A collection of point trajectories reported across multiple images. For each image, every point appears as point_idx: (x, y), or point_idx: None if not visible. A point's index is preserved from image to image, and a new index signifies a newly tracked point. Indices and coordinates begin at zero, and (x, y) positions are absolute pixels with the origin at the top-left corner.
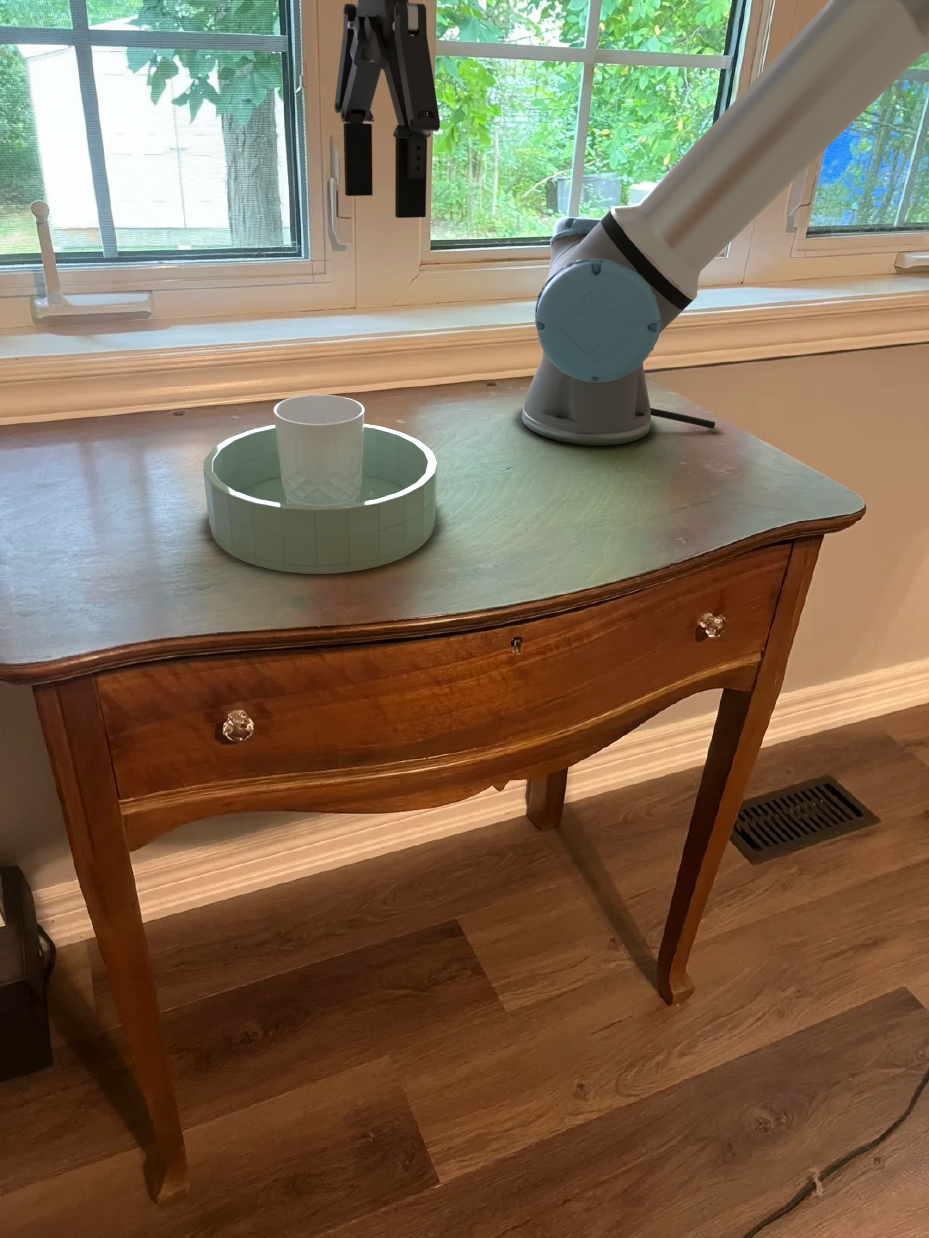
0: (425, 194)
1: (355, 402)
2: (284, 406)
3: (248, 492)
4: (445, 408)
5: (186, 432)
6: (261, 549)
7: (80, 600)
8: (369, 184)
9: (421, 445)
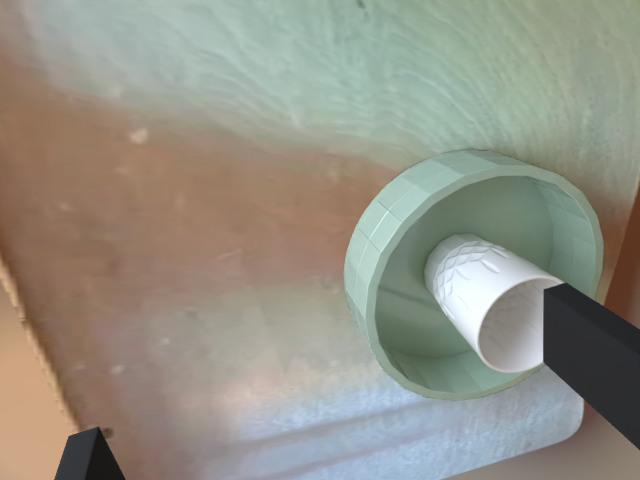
0: (617, 317)
1: (516, 284)
2: (488, 360)
3: (392, 337)
4: (60, 35)
5: (178, 414)
6: None
7: (522, 421)
8: (94, 468)
9: (480, 176)
